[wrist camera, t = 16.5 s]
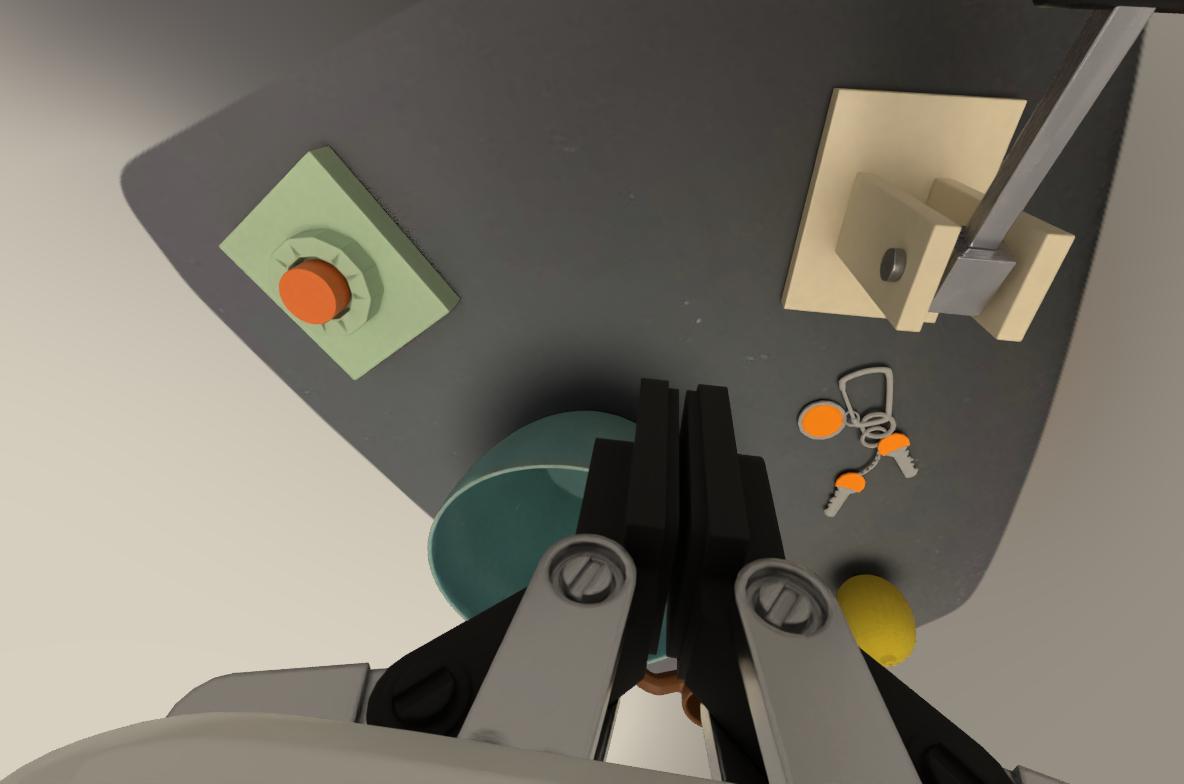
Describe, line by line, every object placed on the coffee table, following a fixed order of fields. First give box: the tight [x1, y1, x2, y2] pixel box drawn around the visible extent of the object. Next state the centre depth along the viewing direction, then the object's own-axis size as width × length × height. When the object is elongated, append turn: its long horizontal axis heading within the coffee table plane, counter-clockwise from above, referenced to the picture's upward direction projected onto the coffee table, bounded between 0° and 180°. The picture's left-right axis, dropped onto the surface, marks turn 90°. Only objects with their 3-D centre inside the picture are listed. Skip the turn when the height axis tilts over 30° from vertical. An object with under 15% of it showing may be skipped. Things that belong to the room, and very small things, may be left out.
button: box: [279, 260, 350, 324], centre depth 34 cm, size 4×4×2 cm
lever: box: [928, 0, 1184, 317], centre depth 20 cm, size 12×5×2 cm, turn 177°
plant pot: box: [428, 411, 668, 664], centre depth 39 cm, size 18×18×12 cm
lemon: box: [836, 575, 916, 667], centre depth 43 cm, size 6×6×8 cm
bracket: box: [781, 88, 1075, 341], centre depth 27 cm, size 12×9×12 cm
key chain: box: [798, 367, 918, 517], centre depth 39 cm, size 13×7×1 cm, turn 21°
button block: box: [219, 146, 460, 380], centre depth 36 cm, size 12×10×4 cm
